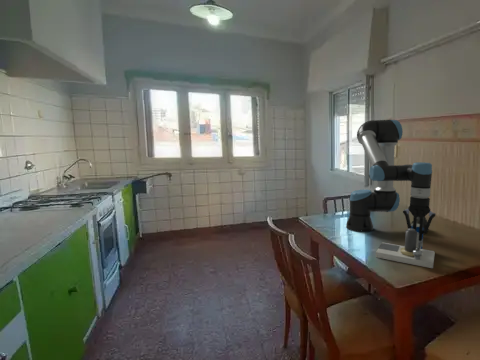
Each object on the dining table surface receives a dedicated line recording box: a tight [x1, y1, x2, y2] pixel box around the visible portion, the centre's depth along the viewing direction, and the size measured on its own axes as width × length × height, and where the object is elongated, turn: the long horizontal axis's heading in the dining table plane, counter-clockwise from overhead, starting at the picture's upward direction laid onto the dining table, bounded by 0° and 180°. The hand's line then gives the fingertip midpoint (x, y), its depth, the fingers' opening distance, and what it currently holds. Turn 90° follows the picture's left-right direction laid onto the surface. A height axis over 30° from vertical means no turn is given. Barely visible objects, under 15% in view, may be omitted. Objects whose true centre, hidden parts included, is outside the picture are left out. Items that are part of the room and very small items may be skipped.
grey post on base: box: [400, 227, 417, 257], centre depth 130 cm, size 8×8×14 cm
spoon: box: [413, 238, 424, 256], centre depth 130 cm, size 3×16×3 cm, turn 144°
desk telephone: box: [375, 242, 436, 269], centre depth 133 cm, size 22×15×4 cm
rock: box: [411, 216, 430, 231], centre depth 170 cm, size 12×10×10 cm
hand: (416, 246), depth 135 cm, fingers closed
